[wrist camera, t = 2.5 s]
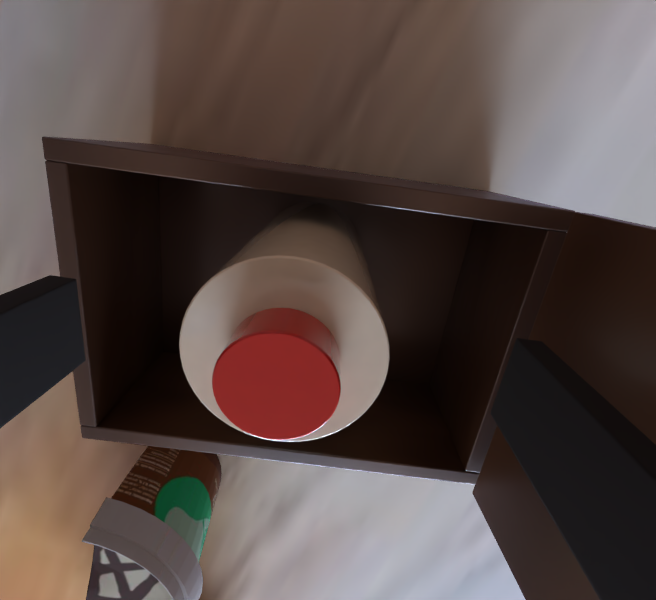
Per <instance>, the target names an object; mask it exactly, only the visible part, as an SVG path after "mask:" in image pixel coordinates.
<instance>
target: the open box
mask: <svg viewBox="0 0 656 600" xmlns="http://www.w3.org/2000/svg"><path fill="white" fill-rule="evenodd" d="M42 142H43V149H44V157H45V159H46V160H47V161H46V162H45V163H46V171H47V178H48V186H49V193H50V201H51V208H52V216H53V223H54V231H55V238H56V246H57V253H58V261H59V269H60V276H61V277H66V278H74V279H76V281H77V290H78V299H79V307H80V316H81V325H82V333H83V342H84V351H85V359H86V361H85V362H83V363H82V364H81V365H79V366H78V367H77V368H76V369H74V370H73V374H74V381H75V389H76V396H77V404H78V412H79V419H80V424H81V433H82V437H83V438H88V439H96V440H105V441H113V442H121V443H130V444H138V445H147V446H155V447H163V448H172V449H180V450H189V451H197V452H205V453H214V454H222V455H231V456H239V457H247V458H256V459H264V460H272V461H281V462H289V463H298V464H306V465H314V466H323V467H331V468H340V469H348V470H356V471H365V472H373V473H382V474H390V475H398V476H407V477H415V478H424V479H432V480H440V481H449V482H457V483H466V484H474V485H475V484H476V482H477V479H478V476H479V473H480V471H481V468H482V465H483V462H484V460H485V457H486V454H487V451H488V449H489V446H490V443H491V440H492V438H493V435H494V432H495V429H496V427H497V424H496V422H495V421H494V419H493V417H492V415H491V414H490V413H491V410H492V407H493V404H494V401H495V398H496V396H497V393H498V390H499V387H500V384H501V381H502V378H503V376H504V373H505V370H506V367H507V364H508V361H509V358H510V355H511V353H512V350H513V347H514V344H515V341H516V338H521V339H529V336H530V333H531V331H532V328H533V325H534V322H535V320H536V317H537V314H538V311H539V309H540V306H541V303H542V300H543V298H544V295H545V292H546V289H547V287H548V284H549V281H550V278H551V276H552V273H553V270H554V267H555V265H556V262H557V259H558V256H559V254H560V251H561V248H562V246H563V243H564V240H565V237H566V235H567V232H568V229H569V226H570V224H571V221H572V218H573V215H574V213H575V211H573V210H568V209H564V208H559V207H555V206H551V205H546V204H542V203H537V202H533V201H529V200H524V199H520V198H515V197H511V196H507V195H502V194H498V193H493V192H488V191H481V190H474V189H467V188H460V187H453V186H446V185H439V184H431V183H424V182H417V181H410V180H403V179H396V178H389V177H382V176H375V175H367V174H360V173H353V172H346V171H339V170H332V169H325V168H318V167H311V166H303V165H296V164H289V163H282V162H275V161H268V160H261V159H254V158H246V157H239V156H232V155H225V154H218V153H211V152H204V151H197V150H190V149H182V148H175V147H168V146H161V145H154V144H143V143H129V142H115V141H100V140H86V139H71V138H57V137H42ZM310 201H311V202H320V203H325V204H328V205H331V206H333V207H335V208H337V209H338V210H340V211H341V212H343V213H344V214H345V215H346V216H347V217H348V218H349V219H350V220H351V221H352V223H353V224H354V226H355V227H356V229H357V231H358V234H359V236H360V240H361V243H362V247H363V250H364V254H365V257H366V260H367V264H368V267H369V271H370V274H371V278H372V281H373V285H374V288H375V292H376V295H377V299H378V302H379V306H380V309H381V313H382V316H383V320H384V323H385V327H386V330H387V334H388V340H389V346H390V360H389V367H388V372H387V376H386V379H385V382H384V384H383V387H382V389H381V391H380V393H379V395H378V396H377V398H376V399H375V401H374V402H373V404H372V405H371V406H370V407H369V408H368V410H367V411H366V412H365V413H364V414H363V415H362V416H360V417H359V418H358V419H357V420H356V421H354V422H353V423H351V424H350V425H348V426H347V427H345V428H343V429H341V430H340V431H338V432H336V433H333V434H330V435H328V436H325V437H322V438H318V439H314V440H308V441H301V442H281V441H272V440H266V439H262V438H258V437H254V436H251V435H249V434H246V433H244V432H241V431H239V430H237V429H235V428H233V427H231V426H229V425H228V424H226V423H225V422H223V421H222V420H220V419H219V418H218V417H216V416H215V415H214V414H213V413H212V412H211V411H209V410H208V409H207V408H206V406H205V405H204V404H203V403H202V402H201V401H200V400H199V398H198V397H197V396H196V394H195V393H194V391H193V390H192V388H191V386H190V384H189V382H188V381H187V378H186V375H185V373H184V370H183V367H182V363H181V358H180V349H179V339H180V329H181V325H182V320H183V317H184V315H185V312H186V310H187V307H188V306H189V304H190V302H191V300H192V299H193V297H194V296H195V295H196V293H197V292H198V291H199V289H200V288H201V287H202V286H203V285H204V284H205V283H206V282H207V281H208V280H209V279H210V278H211V277H212V276H213V275H214V274H215V273H217V272H218V271H219V270H220V269H221V268H222V267H223V266H224V265H225V264H226V263H227V262H228V261H229V260H230V259H231V258H232V257H233V256H234V255H235V254H236V253H237V252H238V251H239V250H240V249H242V248H243V247H244V246H245V245H246V244H247V243H248V242H249V241H250V240H251V239H252V238H253V237H254V236H255V235H256V234H257V233H258V232H259V231H260V230H261V229H262V228H263V227H264V226H265V225H266V224H268V223H269V222H270V221H271V220H272V219H273V218H274V217H275V216H276V215H277V214H278V213H279V212H281V211H282V210H283V209H285V208H287V207H289V206H291V205H294V204H296V203H301V202H310Z"/></svg>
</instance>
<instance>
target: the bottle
mask: <svg viewBox="0 0 656 600" xmlns="http://www.w3.org/2000/svg"><path fill="white" fill-rule="evenodd" d="M179 349H180V358H181V363H182V367H183V370H184V373H185V375H186V378H187V381H188V382H189V384H190V386H191V388H192V390H193V391H194V393H195V394H196V396H197V397H198V398H199V400H200V401H201V402H202V403H203V404H204V405H205V406H206V408H207V409H208V410H209V411H211V412H212V413H213V414H214V415H215V416H216V417H218V418H219V419H220V420H222V421H223V422H225V423H226V424H228V425H229V426H231V427H233V428H235V429H237V430H239V431H241V432H244V433H246V434H249V435H251V436H254V437H258V438H262V439H266V440H272V441H281V442H301V441H308V440H314V439H318V438H322V437H325V436H328V435H330V434H333V433H336V432H338V431H340V430H341V429H343V428H345V427H347V426H348V425H350V424H351V423H353V422H354V421H356V420H357V419H358V418H359V417H360V416H362V415H363V414H364V413H365V412H366V411H367V410H368V408H369V407H370V406H371V405H372V404H373V402H374V401H375V399H376V398H377V396H378V395H379V393H380V391H381V389H382V387H383V384H384V382H385V379H386V376H387V372H388V367H389V360H390V346H389V340H388V334H387V330H386V327H385V323H384V320H383V316H382V313H381V309H380V306H379V302H378V299H377V295H376V292H375V288H374V285H373V281H372V278H371V274H370V271H369V267H368V264H367V260H366V257H365V254H364V250H363V247H362V243H361V240H360V236H359V234H358V231H357V229H356V227H355V226H354V224H353V223H352V221H351V220H350V219H349V218H348V217H347V216H346V215H345V214H344V213H343V212H341V211H340V210H338V209H337V208H335V207H333V206H331V205H328V204H325V203H320V202H311V201H310V202H301V203H296V204H294V205H291V206H289V207H287V208H285V209H283V210H282V211H281V212H279V213H278V214H277V215H276V216H275V217H274V218H273V219H272V220H271V221H270V222H269V223H268V224H266V225H265V226H264V227H263V228H262V229H261V230H260V231H259V232H258V233H257V234H256V235H255V236H254V237H253V238H252V239H251V240H250V241H249V242H248V243H247V244H246V245H245V246H244V247H243V248H242V249H240V250H239V251H238V252H237V253H236V254H235V255H234V256H233V257H232V258H231V259H230V260H229V261H228V262H227V263H226V264H225V265H224V266H223V267H222V268H221V269H220V270H219V271H218V272H217V273H215V274H214V275H213V276H212V277H211V278H210V279H209V280H208V281H207V282H206V283H205V284H204V285H203V286H202V287H201V288H200V289H199V291H198V292H197V293H196V295H195V296H194V297H193V299H192V300H191V302H190V304H189V306H188V307H187V310H186V312H185V315H184V317H183V320H182V325H181V329H180V339H179Z"/></svg>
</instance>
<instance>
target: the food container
mask: <svg viewBox="0 0 656 600" xmlns="http://www.w3.org/2000/svg"><path fill="white" fill-rule="evenodd" d="M220 481H221V466H220V463H219V460H218V458H217V456H216V454H214V453H205V452H197V451H189V450H180V449H172V448H163V447H155V446H148V447H147V449H146V450H145V451H144V453H143V454H142V456H141V457H140V458H139V460H138V461H137V463H136V464H135V465H134V467H133V468H132V470H131V471H130V472H129V474H128V475H127V477H126V478H125V480H124V481H123V482H122V484H121V485H120V487H119V488H118V489H117V491H116V492H115V494H114V495H113V496H112V498H107V497H106V499H105V501H104V502H103V504H102V506H101V508H100V509H99V511H98V513H97V514H96V516H95V518H94V519H93V521H92V523H91V524H90V529H89V530H88V532H87V533H86V535H85V536H84V538H83V540H82V542H86V543H89V544H93V545H94V553H93V561H92V568H91V575H90V580H89V585H88V591H87V597H86V600H199V598H200V595H201V593H202V586H203V577H202V570H201V567H200V564H199V559H200V556H201V552H202V548H203V545H204V541H205V537H206V533H207V530H208V526H209V522H210V518H211V515H212V511H213V507H214V503H215V500H216V496H217V492H218V489H219V485H220Z"/></svg>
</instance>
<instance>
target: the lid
mask: <svg viewBox="0 0 656 600" xmlns="http://www.w3.org/2000/svg"><path fill="white" fill-rule="evenodd" d="M528 340H536V341H542V342H543V343H544V344H545V345H546V346H548V347H549V348H550V349H551V350H552V351H553V352H554V353H555V354H556V355H557V356H559V357H560V358H561V359H562V360H563V361H564V362H565V363H566V364H567V365H568V366H570V367H571V368H572V369H573V370H574V371H575V372H576V373H577V374H578V375H579V376H581V377H582V378H583V379H584V380H585V381H586V382H587V383H588V384H589V385H590V386H592V387H593V388H594V389H595V390H596V391H597V392H598V393H599V394H600V395H602V396H603V397H604V398H605V399H606V400H607V401H608V402H609V403H610V404H611V405H613V406H614V407H615V408H616V409H617V410H618V411H619V412H620V413H621V414H622V415H624V416H625V417H626V418H627V419H628V420H629V421H630V422H631V423H632V424H633V425H635V426H636V427H637V428H638V429H639V430H640V431H641V432H642V433H643V434H644V435H646V436H647V437H648V438H649V439H650V440H651V441H652V442H653V443H654V444H656V228H655V227H651V226H646V225H641V224H637V223H632V222H627V221H623V220H618V219H613V218H609V217H604V216H599V215H595V214H587V213H580V212H575V213H574V215H573V218H572V221H571V224H570V226H569V229H568V232H567V235H566V237H565V240H564V243H563V246H562V248H561V251H560V254H559V256H558V259H557V262H556V265H555V267H554V270H553V273H552V276H551V278H550V281H549V284H548V287H547V289H546V292H545V295H544V298H543V300H542V303H541V306H540V309H539V311H538V314H537V317H536V320H535V322H534V325H533V328H532V331H531V333H530V336H529V339H528ZM473 495H474V497H475V499H476V501H477V503H478V505H479V507H480V509H481V511H482V513H483V515H484V517H485V519H486V521H487V523H488V525H489V527H490V529H491V531H492V533H493V535H494V537H495V539H496V541H497V543H498V545H499V547H500V549H501V551H502V553H503V555H504V557H505V559H506V561H507V563H508V565H509V567H510V569H511V571H512V573H513V575H514V577H515V579H516V581H517V583H518V585H519V587H520V589H521V591H522V593H523V595H524V597H525V599H526V600H600V599H599V597H598V596H597V594H596V592H595V591H594V589H593V587H592V585H591V584H590V582H589V580H588V579H587V577H586V575H585V574H584V572H583V570H582V568H581V567H580V565H579V563H578V562H577V560H576V558H575V557H574V555H573V553H572V551H571V550H570V548H569V546H568V545H567V543H566V541H565V540H564V538H563V536H562V534H561V533H560V531H559V529H558V528H557V526H556V524H555V523H554V521H553V519H552V517H551V516H550V514H549V512H548V511H547V509H546V507H545V506H544V504H543V502H542V500H541V499H540V497H539V495H538V494H537V492H536V490H535V489H534V487H533V485H532V483H531V482H530V480H529V478H528V477H527V475H526V473H525V472H524V470H523V468H522V466H521V465H520V463H519V461H518V460H517V458H516V456H515V455H514V453H513V451H512V449H511V448H510V446H509V444H508V443H507V441H506V439H505V438H504V436H503V434H502V432H501V431H500V429H499V427H498V426H497V427H496V429H495V432H494V435H493V438H492V440H491V443H490V446H489V449H488V451H487V454H486V457H485V460H484V462H483V465H482V468H481V471H480V473H479V476H478V479H477V482H476V484H475V487H474V490H473Z"/></svg>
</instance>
